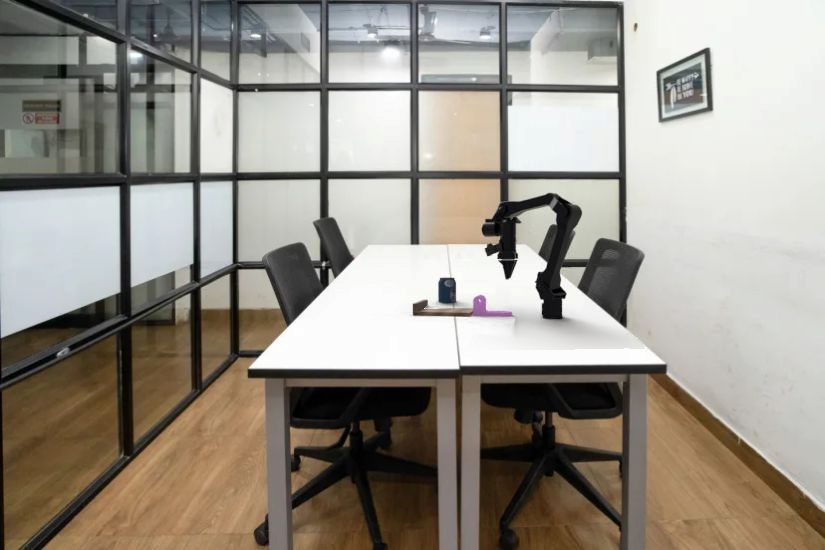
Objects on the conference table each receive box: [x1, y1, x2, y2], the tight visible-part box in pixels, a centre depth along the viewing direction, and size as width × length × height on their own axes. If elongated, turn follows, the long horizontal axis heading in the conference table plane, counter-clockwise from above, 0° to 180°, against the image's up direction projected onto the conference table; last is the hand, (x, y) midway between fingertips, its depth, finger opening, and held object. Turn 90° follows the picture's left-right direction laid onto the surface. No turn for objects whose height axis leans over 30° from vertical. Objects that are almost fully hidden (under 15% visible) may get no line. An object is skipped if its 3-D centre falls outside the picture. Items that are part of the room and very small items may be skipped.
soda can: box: [437, 277, 457, 304], centre depth 225 cm, size 7×7×12 cm
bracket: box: [472, 294, 513, 317], centre depth 201 cm, size 13×6×7 cm, turn 76°
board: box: [412, 299, 473, 317], centre depth 209 cm, size 20×18×4 cm
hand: (508, 278), depth 213 cm, fingers open, 9 cm apart
